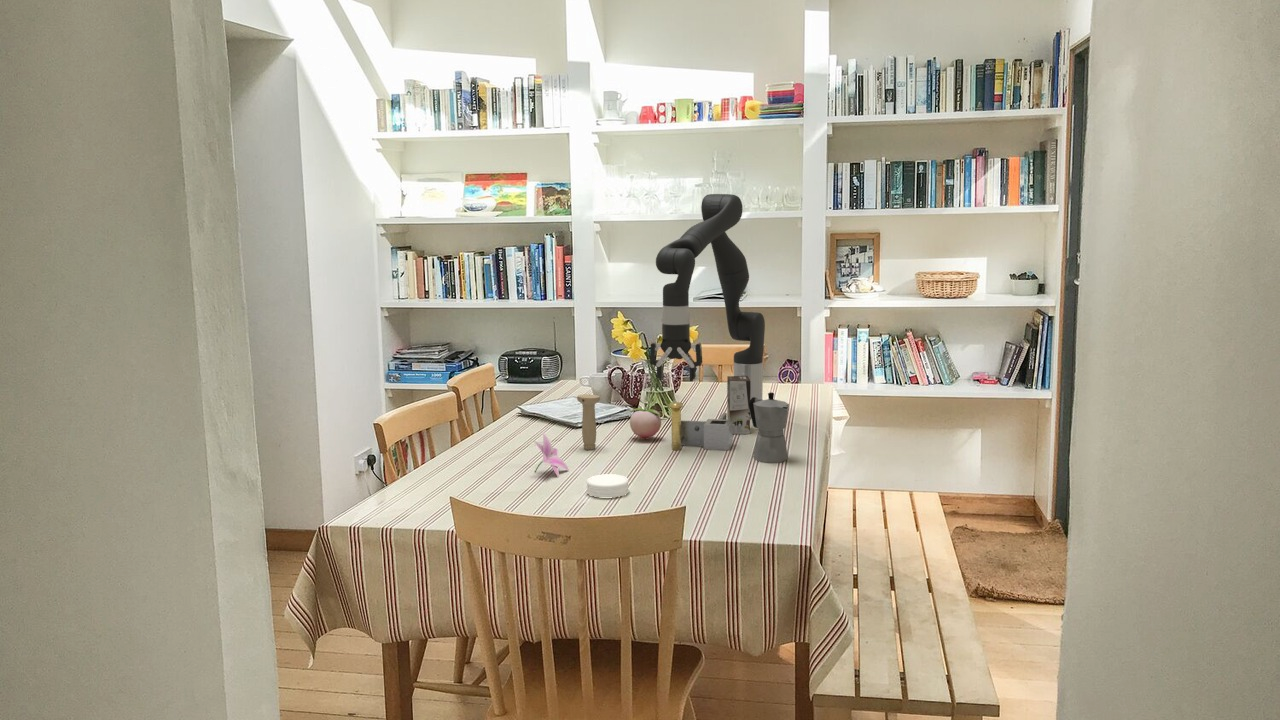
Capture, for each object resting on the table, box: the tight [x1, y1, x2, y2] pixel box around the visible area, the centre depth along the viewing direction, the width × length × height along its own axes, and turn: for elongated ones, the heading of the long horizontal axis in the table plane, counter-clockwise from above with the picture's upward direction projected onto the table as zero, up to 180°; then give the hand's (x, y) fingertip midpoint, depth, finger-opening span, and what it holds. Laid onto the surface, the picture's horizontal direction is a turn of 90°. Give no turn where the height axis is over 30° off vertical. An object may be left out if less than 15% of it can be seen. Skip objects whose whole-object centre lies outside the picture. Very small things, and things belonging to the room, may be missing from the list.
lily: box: [533, 431, 570, 478], centre depth 247 cm, size 12×12×10 cm
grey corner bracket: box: [681, 412, 734, 451], centre depth 277 cm, size 16×16×7 cm
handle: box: [576, 393, 601, 451], centre depth 270 cm, size 5×6×15 cm
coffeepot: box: [749, 392, 790, 464], centre depth 258 cm, size 15×9×18 cm, turn 34°
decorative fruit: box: [629, 405, 662, 440], centre depth 280 cm, size 9×8×10 cm
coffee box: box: [726, 375, 751, 435], centre depth 289 cm, size 9×6×16 cm
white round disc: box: [586, 473, 630, 497], centre depth 230 cm, size 10×10×4 cm
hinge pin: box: [669, 401, 683, 451], centre depth 269 cm, size 4×4×13 cm
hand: (676, 380), depth 267 cm, fingers open, 8 cm apart
